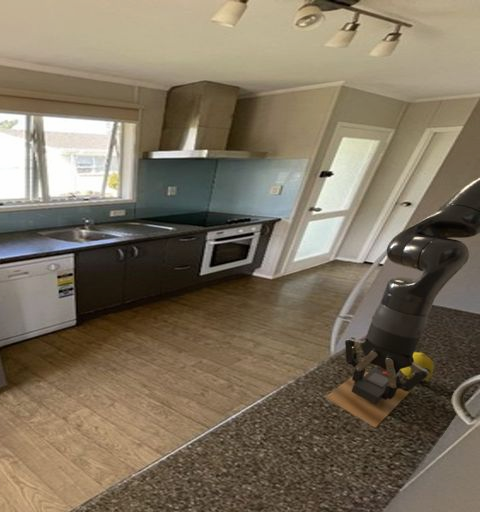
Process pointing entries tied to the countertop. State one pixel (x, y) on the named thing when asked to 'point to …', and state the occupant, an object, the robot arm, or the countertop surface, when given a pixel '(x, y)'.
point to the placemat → (364, 403)
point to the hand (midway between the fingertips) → (370, 390)
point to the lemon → (420, 364)
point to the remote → (372, 385)
